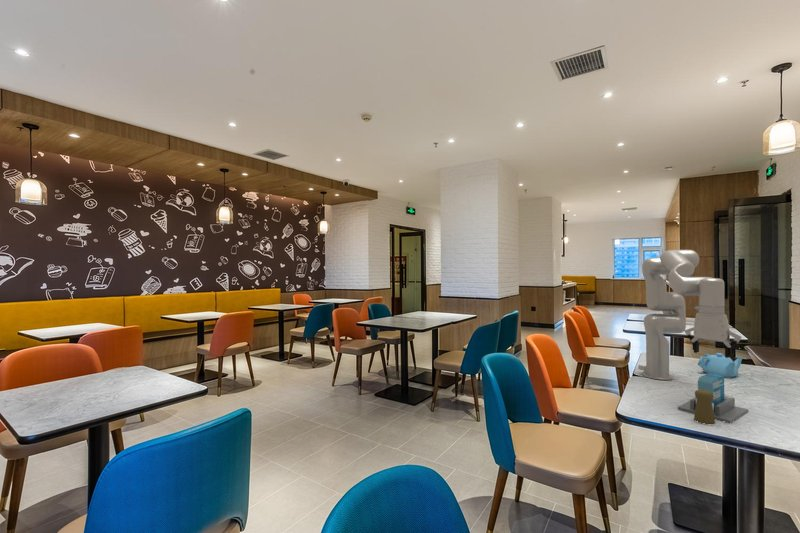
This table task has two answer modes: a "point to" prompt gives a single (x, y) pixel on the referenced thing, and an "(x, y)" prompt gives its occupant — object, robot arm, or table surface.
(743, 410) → the tray
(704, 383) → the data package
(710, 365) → the teapot
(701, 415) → the cork
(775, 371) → the table surface
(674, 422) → the table surface
